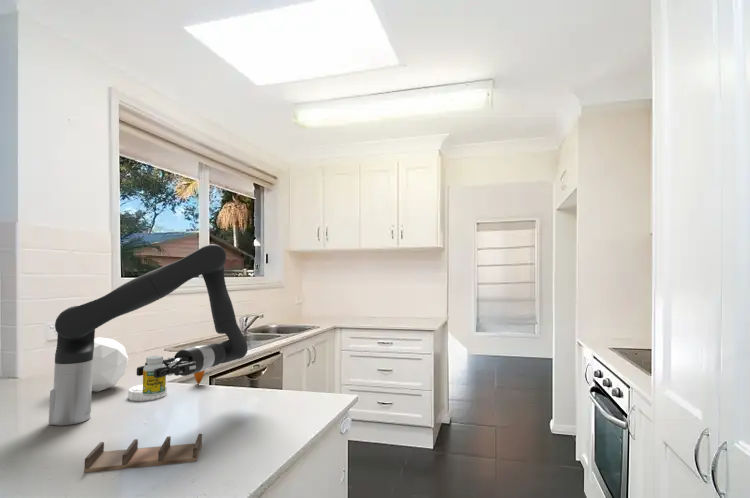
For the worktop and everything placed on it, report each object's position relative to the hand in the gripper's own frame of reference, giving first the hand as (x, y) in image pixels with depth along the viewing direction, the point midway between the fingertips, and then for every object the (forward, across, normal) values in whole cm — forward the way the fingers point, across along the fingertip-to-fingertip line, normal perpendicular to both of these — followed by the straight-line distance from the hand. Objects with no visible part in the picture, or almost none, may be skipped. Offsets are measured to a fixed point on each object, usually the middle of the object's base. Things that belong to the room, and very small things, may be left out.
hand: (146, 372), depth 109 cm
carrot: (-50, -29, +18) cm, 61 cm away
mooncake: (-31, -34, +18) cm, 49 cm away
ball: (-31, -58, +18) cm, 68 cm away
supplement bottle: (-3, 0, +6) cm, 7 cm away
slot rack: (+7, +8, +18) cm, 21 cm away
